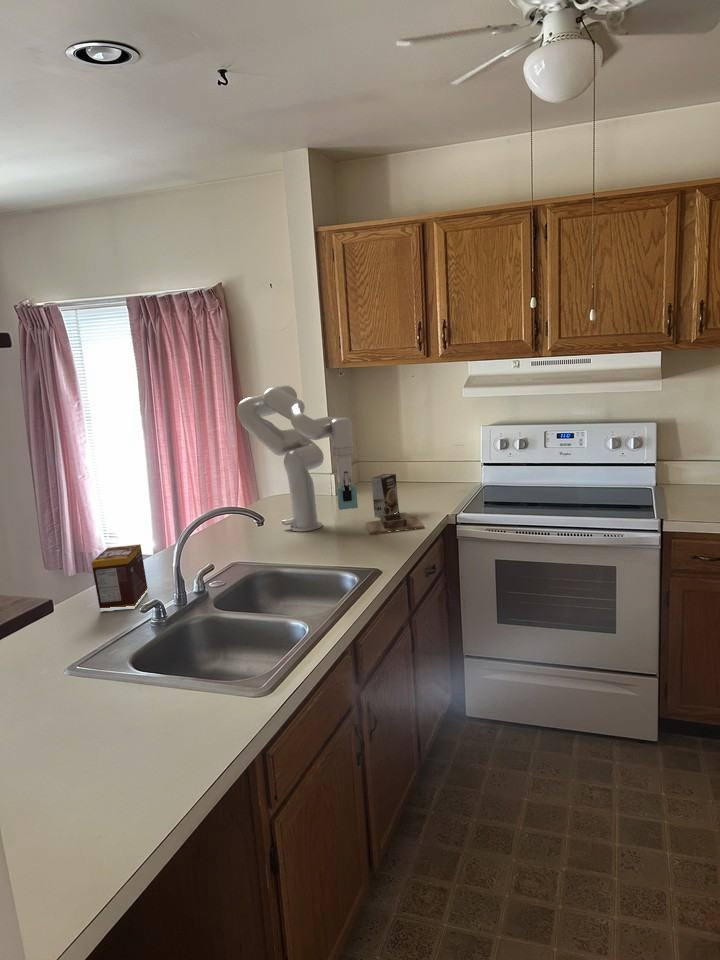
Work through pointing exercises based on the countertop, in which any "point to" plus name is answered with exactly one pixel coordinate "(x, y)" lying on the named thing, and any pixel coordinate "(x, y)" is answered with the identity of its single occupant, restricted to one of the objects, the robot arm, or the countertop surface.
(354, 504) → the keyed block
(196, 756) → the countertop surface
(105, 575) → the supplement box
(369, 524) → the keyed holder
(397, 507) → the coffee box
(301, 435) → the robot arm
